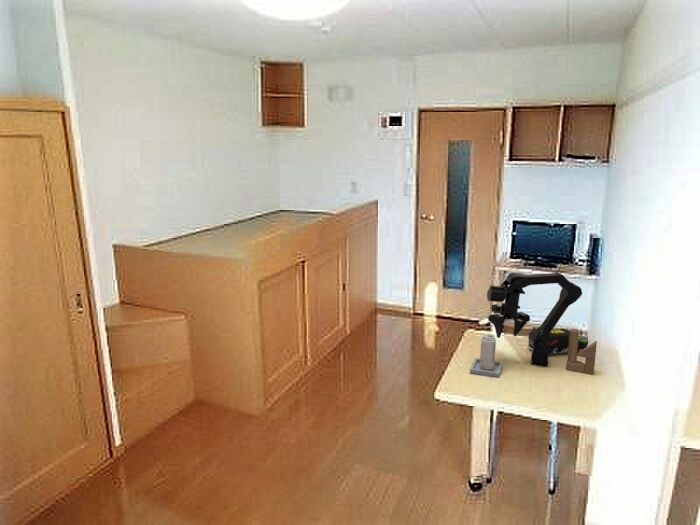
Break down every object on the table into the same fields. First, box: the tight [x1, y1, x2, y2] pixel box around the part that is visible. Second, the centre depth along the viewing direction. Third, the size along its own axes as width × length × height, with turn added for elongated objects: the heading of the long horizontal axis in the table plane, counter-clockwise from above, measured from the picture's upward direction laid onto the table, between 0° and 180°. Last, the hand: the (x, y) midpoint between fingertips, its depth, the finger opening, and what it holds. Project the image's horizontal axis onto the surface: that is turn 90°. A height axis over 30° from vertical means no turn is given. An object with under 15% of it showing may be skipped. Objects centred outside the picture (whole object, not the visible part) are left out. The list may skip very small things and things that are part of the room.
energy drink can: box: [479, 333, 497, 371], centre depth 220 cm, size 6×6×15 cm
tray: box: [469, 357, 504, 379], centre depth 222 cm, size 12×12×2 cm
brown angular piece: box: [565, 328, 598, 375], centre depth 217 cm, size 4×11×18 cm, turn 60°
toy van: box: [527, 327, 589, 358], centre depth 239 cm, size 11×25×10 cm, turn 99°
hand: (506, 336), depth 224 cm, fingers open, 9 cm apart
